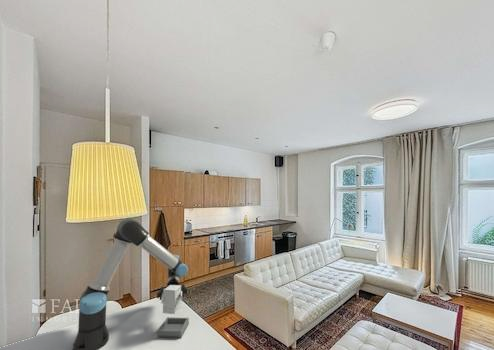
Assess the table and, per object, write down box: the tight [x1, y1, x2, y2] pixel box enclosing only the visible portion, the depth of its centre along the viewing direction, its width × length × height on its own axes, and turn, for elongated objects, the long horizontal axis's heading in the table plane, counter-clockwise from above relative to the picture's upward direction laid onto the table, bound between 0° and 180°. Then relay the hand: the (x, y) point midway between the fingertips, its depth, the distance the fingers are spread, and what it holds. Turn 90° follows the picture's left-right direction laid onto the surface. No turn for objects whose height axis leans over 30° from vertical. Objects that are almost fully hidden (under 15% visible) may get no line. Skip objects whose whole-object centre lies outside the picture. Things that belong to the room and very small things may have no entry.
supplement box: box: [162, 284, 182, 315], centre depth 127 cm, size 7×7×13 cm
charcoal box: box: [156, 317, 190, 339], centre depth 125 cm, size 13×13×4 cm
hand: (171, 299), depth 123 cm, fingers closed on supplement box, 9 cm apart
